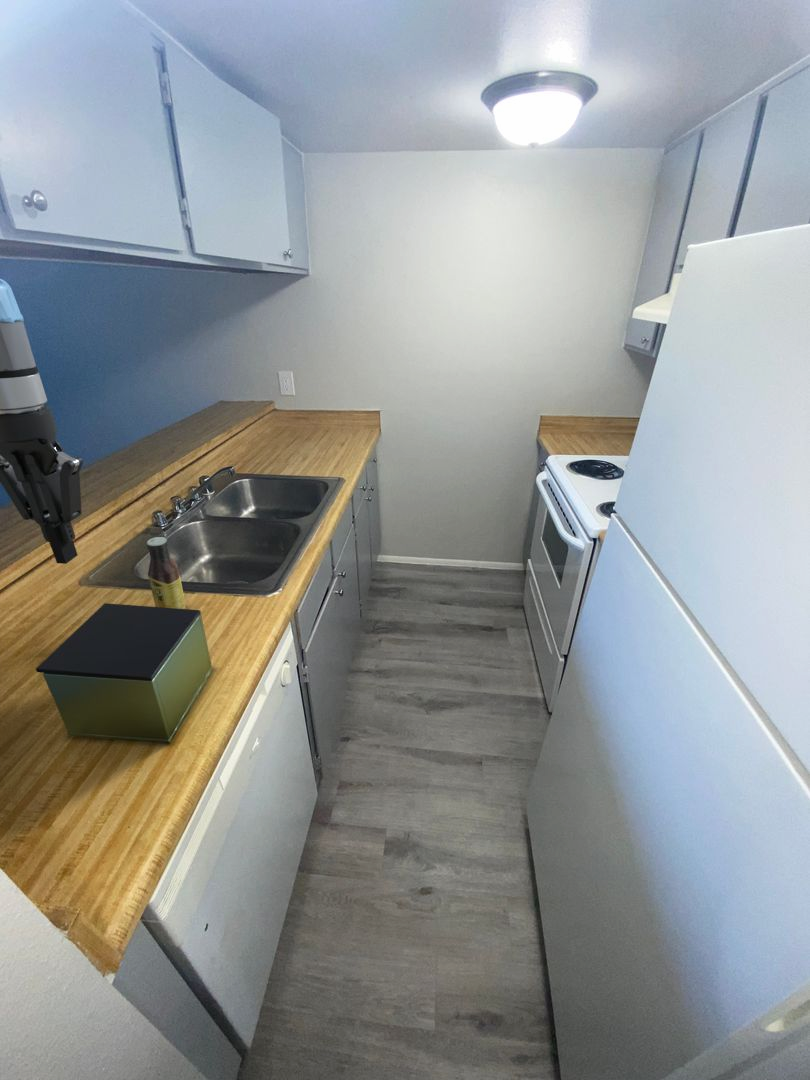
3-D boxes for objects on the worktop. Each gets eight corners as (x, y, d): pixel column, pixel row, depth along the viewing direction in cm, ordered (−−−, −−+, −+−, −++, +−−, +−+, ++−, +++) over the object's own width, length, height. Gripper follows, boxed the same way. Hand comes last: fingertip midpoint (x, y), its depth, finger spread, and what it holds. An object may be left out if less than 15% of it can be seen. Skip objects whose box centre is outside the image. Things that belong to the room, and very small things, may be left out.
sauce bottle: (154, 612, 112) (135, 538, 102) (181, 602, 115) (165, 530, 106) (163, 626, 107) (144, 550, 98) (191, 615, 111) (175, 541, 102)
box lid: (36, 672, 74) (35, 668, 74) (105, 606, 89) (104, 603, 89) (151, 681, 73) (150, 677, 73) (201, 613, 89) (200, 609, 89)
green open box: (69, 736, 81) (42, 674, 74) (128, 664, 96) (110, 607, 90) (170, 743, 80) (152, 681, 73) (212, 670, 96) (201, 613, 89)
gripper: (81, 403, 66) (121, 550, 77) (-9, 399, 67) (44, 545, 78) (41, 416, 60) (92, 574, 71) (-58, 411, 60) (8, 569, 71)
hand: (67, 559), depth 74 cm, fingers closed
